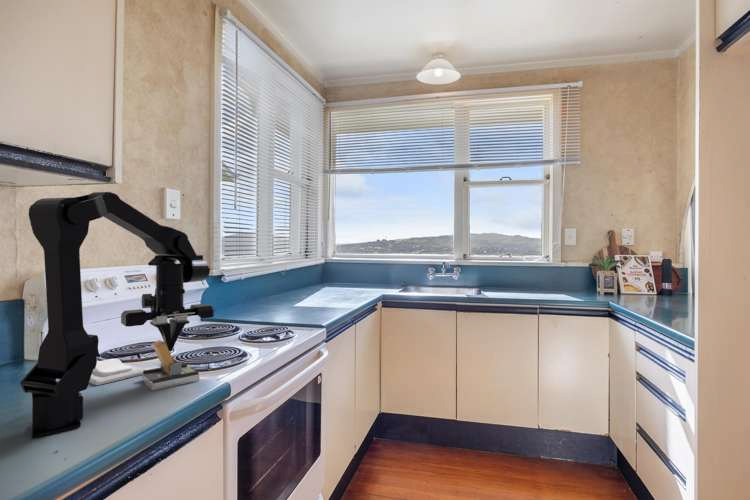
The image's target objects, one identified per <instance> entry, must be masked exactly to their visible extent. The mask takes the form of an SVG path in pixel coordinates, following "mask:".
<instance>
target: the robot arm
mask: <svg viewBox="0 0 750 500" xmlns="http://www.w3.org/2000/svg"><path fill="white" fill-rule="evenodd" d="M103 217H104V219H106V220H109V221H111V222H113V223H114V224H115V225H117V226H119V227H121V228H123V229H124V230H126V231H128V232H129V233H132V234H133V235H135V236H136V237H139V238H140V239H141V240H142V241H143V242H144V244H145V246H146V247H147V248H148V249H149V250H150V251H151V252H153V253H154V254H155V255H154V257H153V258H152V259H151V260H149V261H148V262H147V265H148V266H150V267H151V266H152V267H153V266H155V268H156V269H155V274H156V275H155V288H154V295H153V294H152V293H142V295H141V308H139V309H130V310H128V309H127V310H124V311H122V313H121V315H120V323H121V324H122V325H123V326H124V327H128V328H129V327H138V326H144V325H145V323H147V322H148V321H149V324H150V325H151V326H153V327H154V328H157V329H158V331H159V333H160V335H161V337H162V340H163V342H164V343H165V344H166V345H167V347H168V350H169V352H172V351H173V349H174V346H175V344H176V342H177V340H178V338H179V336H180V334H181V332H182V331H183V329H184V327H185V326H186V325H188V324H190V320H188V318H189V317H193V316H198V317H199V318H200V319H210V318H214V317H215V309H214V307H213V306H212V304H211V305H210V304H207V303H198V304H191V305H190V307H189V308H186V307H185V306H184V294H186V289H185V288H184V283H185V284H188V283H194V282H203V281H206V280H207V279H208V277H209V275H210V273H211V272H210V271H211V269H210V267H209V264H208V262H207V261H205V260H204V255H202V254H197V253H196V251H195V249H194V247H193V246H192V243H191V242H190V240H189V236H188V235H187V234H186V233H185V232H184V231H182V230H179V229H177V228H176V227H175V228H174V227H171V226H167V225H164V224H161V223H158V222H157V221H156V220H154V219H152V218H151V217H149V216H147V214H145V213H144V212H142V211H139V210H138V209H137V208H135V207H134V206H132V205H131V204H129V203H128V202H126V201H125V200H123V199H121V198H120V197H119V195H118V194H116V193H114V192H112V191H96V192H91V193H89V194H83V195H80V196H74V197H47V198H39V199H37V200H36V201H35V202H33V204H31V205H30V206H29V209H28V218H29V223H30V227H31V230H32V234H33V236H34V237H35V238H36V240H37V241H38V243H39V244H40V246H41V247H42V249H43V255H44V256H43V257H44V273H45V274H44V276H45V277H44V278H45V292H46V293H45V294H46V295H45V296H46V311H47V328H48V329H47V333H46V335H45V337H44V339H43V340H42V342H41V344H40V346H39V347H38V348H39V349H38V355H37V356H38V357H37V363H36V364H35V365H34V366H33V367H32V368H31V369H30V371H29V372H28V373H27V374H26V375H25V376H24V377H23V378H22V379H21V381H20V383H19V385H20V387H21V389H22V391H23V393H24V394H27V393H30V394H31V420H30V421H31V422H30V423H29V429H30V437H31V438H32V439H33V438H34V439H35V438H39V437H43V436H47V435H52V434H56V433H59V432H64V431H68V430H73V429H77V428H80V427H81V426H82V423H81V421H82V420H83V419H84V396H83V394H82V391H85V390H87V389H88V387H89V384H90V382H89V381H90V378H91V375H92V372H93V369H95V367H96V364H97V362H98V358H100V357H101V354H100V352H99V336H98V334H88V332H87V331H86V330H85V327H84V317H83V315H84V314H83V297H82V277H81V276H82V275H81V259H80V257H81V256H80V254H81V253H80V250H81V247H82V245H83V243H84V241H85V239H86V238H87V236H88V234H89V228H90V222H92V221H95V220H98V219H102V218H103ZM144 309H150V311H149V312H148V311H146V310H144ZM57 380H58V381H57Z"/></svg>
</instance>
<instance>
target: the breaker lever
mask: <svg viewBox="0 0 750 500" xmlns="http://www.w3.org/2000/svg"><path fill="white" fill-rule="evenodd" d="M151 346H152V347H153V349H154V352H155V354H156V356H157V358H158V360H159V362H160V364H161V365H162V367H163V369H164V370H165V371H166V372H168V373H169V364H173V363H175V361H174V357H173V356H172V355H171V351H169V350H168V347H167V345H166V344H165V343H164V341H162V340H160V339H159V340H157V341H155V342H152V344H151ZM172 357H173V358H172Z"/></svg>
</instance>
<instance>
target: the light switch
mask: <svg viewBox="0 0 750 500" xmlns="http://www.w3.org/2000/svg"><path fill="white" fill-rule="evenodd" d="M144 370H147V369H146V368H144V367H139V366H135V365H131V364H128V363H123V362H122V361H121V360H120V359H118V358H108V359H104V360H99V361H98V360H97V364H96V367H95V369H93V372H92V375H91V378H90V381H89V384H92V385H94V386H100V385H104V384H109V383H113V382H116V381H121V380H125V379H129V378H134V377H138V376H142V374H143V371H144Z"/></svg>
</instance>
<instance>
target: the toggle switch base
mask: <svg viewBox="0 0 750 500" xmlns="http://www.w3.org/2000/svg"><path fill="white" fill-rule="evenodd" d="M172 358H173V359H174V357H173V356H172ZM141 381H142V382H143V383H144V384H145V385H146V386H147V387H148V388H149V389H150V390H151V391H157V390H161V389H165V388H170V387H171V388H172V387H175V386H179V385H184V384H190V383H193V382H194V383H195V382H199V381H200V373H199V370H194V369H193V368H191V367H190V366H188V363H186V362H184V363H183V362H180V361H178V362H174V363H173V364H169V373H168V372H166V371H165V370H164V369H163V367H162V365H161V363H160V367H157V368H151V369H146V370H144V371H143V374H142V375H141Z"/></svg>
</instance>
